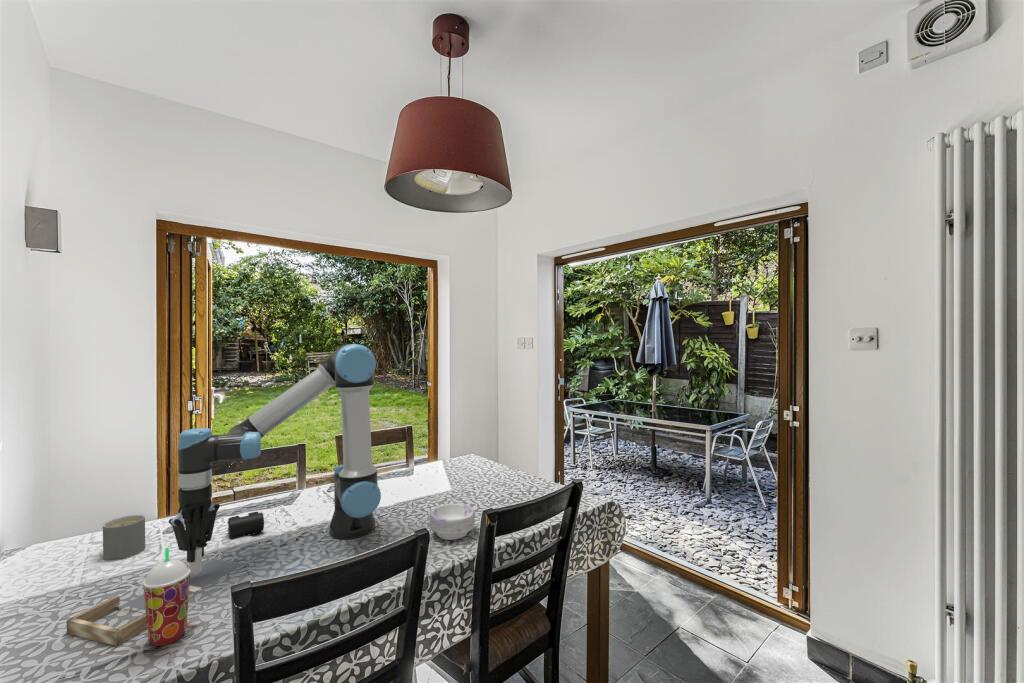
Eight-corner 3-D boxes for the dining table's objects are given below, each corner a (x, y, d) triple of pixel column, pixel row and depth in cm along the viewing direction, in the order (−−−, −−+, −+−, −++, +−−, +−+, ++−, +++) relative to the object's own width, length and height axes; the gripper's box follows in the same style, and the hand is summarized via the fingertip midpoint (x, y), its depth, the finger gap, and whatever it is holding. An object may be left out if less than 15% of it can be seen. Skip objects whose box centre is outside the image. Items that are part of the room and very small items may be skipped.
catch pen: (164, 618, 105) (164, 605, 105) (116, 646, 96) (116, 632, 96) (116, 607, 110) (116, 595, 110) (66, 633, 100) (66, 620, 100)
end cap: (229, 543, 144) (229, 522, 144) (226, 536, 150) (226, 516, 150) (264, 534, 151) (264, 514, 151) (260, 528, 156) (259, 508, 156)
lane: (244, 567, 129) (244, 563, 129) (158, 616, 106) (158, 612, 106) (212, 561, 132) (212, 558, 132) (122, 608, 109) (122, 604, 109)
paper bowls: (484, 533, 150) (484, 510, 150) (449, 549, 139) (448, 524, 139) (455, 521, 160) (455, 499, 160) (420, 534, 149) (420, 511, 149)
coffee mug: (147, 552, 139) (147, 520, 139) (104, 564, 131) (104, 530, 131) (141, 539, 148) (140, 509, 148) (100, 549, 141) (100, 518, 141)
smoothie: (161, 626, 102) (160, 540, 102) (199, 624, 103) (198, 538, 103) (133, 652, 94) (132, 558, 94) (175, 649, 94) (173, 556, 94)
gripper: (207, 477, 128) (207, 558, 128) (160, 492, 116) (160, 582, 116) (227, 479, 126) (227, 562, 126) (181, 495, 114) (181, 586, 114)
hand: (195, 571), depth 121 cm, fingers closed
